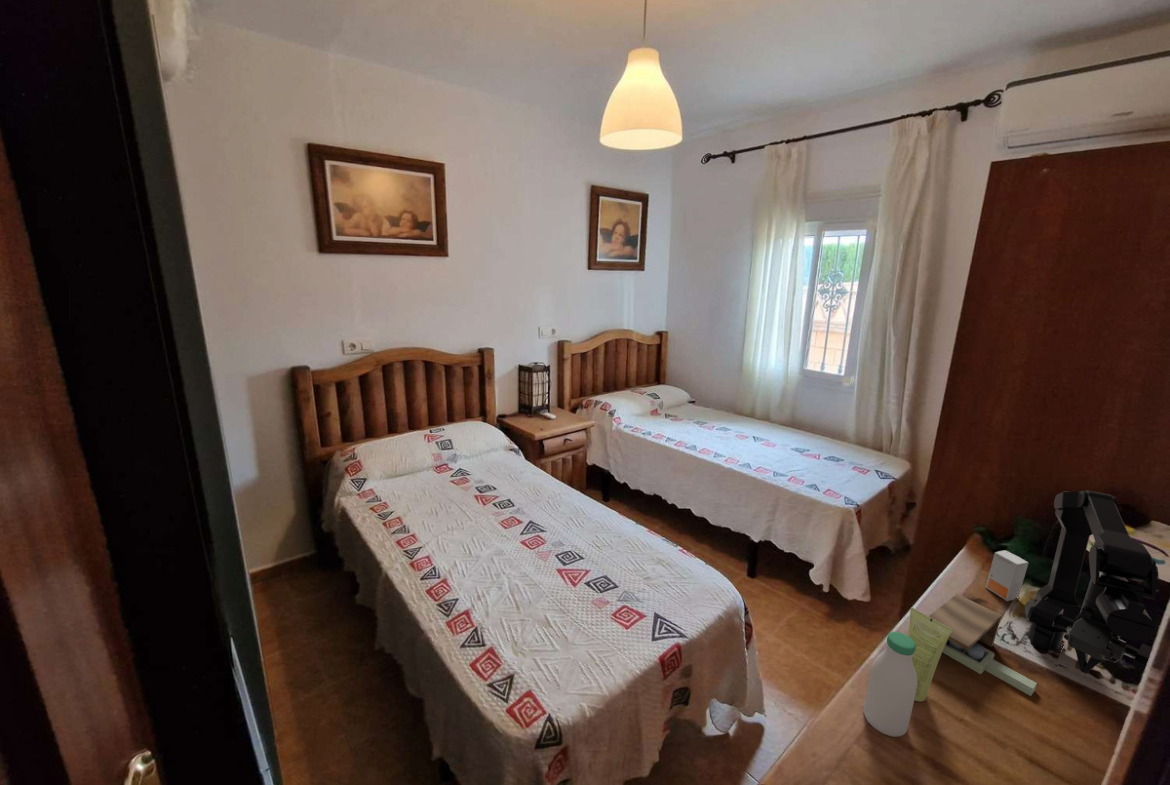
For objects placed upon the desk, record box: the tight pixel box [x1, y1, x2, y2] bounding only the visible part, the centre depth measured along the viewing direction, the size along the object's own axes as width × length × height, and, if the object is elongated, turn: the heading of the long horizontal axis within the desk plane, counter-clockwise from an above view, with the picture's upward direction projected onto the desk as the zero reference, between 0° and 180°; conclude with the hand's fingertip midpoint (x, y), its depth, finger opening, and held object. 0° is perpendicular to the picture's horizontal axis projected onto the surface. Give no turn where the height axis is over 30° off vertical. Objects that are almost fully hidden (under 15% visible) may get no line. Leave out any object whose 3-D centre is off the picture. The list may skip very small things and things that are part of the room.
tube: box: [907, 607, 953, 702], centre depth 100 cm, size 6×5×20 cm
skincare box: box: [985, 549, 1029, 602], centre depth 132 cm, size 6×4×12 cm
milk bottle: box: [862, 631, 917, 738], centre depth 94 cm, size 8×8×20 cm
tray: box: [942, 640, 1038, 697], centre depth 108 cm, size 7×17×3 cm, turn 33°
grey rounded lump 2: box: [965, 642, 985, 663], centre depth 109 cm, size 3×3×4 cm
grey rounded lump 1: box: [947, 640, 964, 653], centre depth 112 cm, size 3×3×4 cm
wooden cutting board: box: [928, 593, 1002, 650], centre depth 112 cm, size 18×9×10 cm, turn 122°
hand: (1083, 671), depth 94 cm, fingers closed
